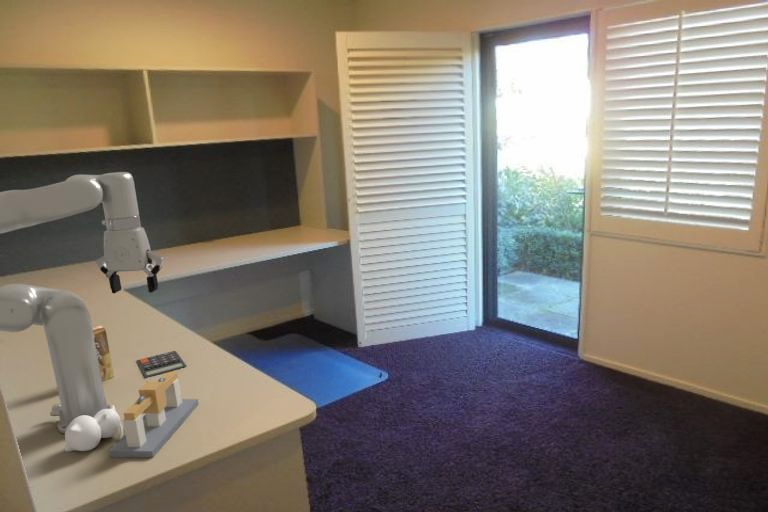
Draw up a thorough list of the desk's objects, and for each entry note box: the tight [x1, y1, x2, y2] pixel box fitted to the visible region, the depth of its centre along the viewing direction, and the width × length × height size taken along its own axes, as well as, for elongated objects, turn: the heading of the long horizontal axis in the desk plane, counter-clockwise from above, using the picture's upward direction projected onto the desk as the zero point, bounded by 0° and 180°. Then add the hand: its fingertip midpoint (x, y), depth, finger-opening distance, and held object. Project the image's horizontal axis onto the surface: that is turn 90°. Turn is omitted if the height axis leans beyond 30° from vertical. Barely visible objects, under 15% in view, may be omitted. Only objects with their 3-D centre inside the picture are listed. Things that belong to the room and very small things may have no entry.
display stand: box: [108, 378, 200, 458], centre depth 131 cm, size 10×23×8 cm, turn 174°
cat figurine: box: [64, 405, 125, 452], centre depth 126 cm, size 9×11×12 cm
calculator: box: [136, 350, 187, 379], centre depth 169 cm, size 12×1×15 cm
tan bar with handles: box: [123, 371, 179, 420], centre depth 130 cm, size 4×20×6 cm, turn 174°
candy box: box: [93, 325, 115, 382], centre depth 158 cm, size 9×4×15 cm, turn 137°
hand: (135, 291), depth 138 cm, fingers open, 9 cm apart
